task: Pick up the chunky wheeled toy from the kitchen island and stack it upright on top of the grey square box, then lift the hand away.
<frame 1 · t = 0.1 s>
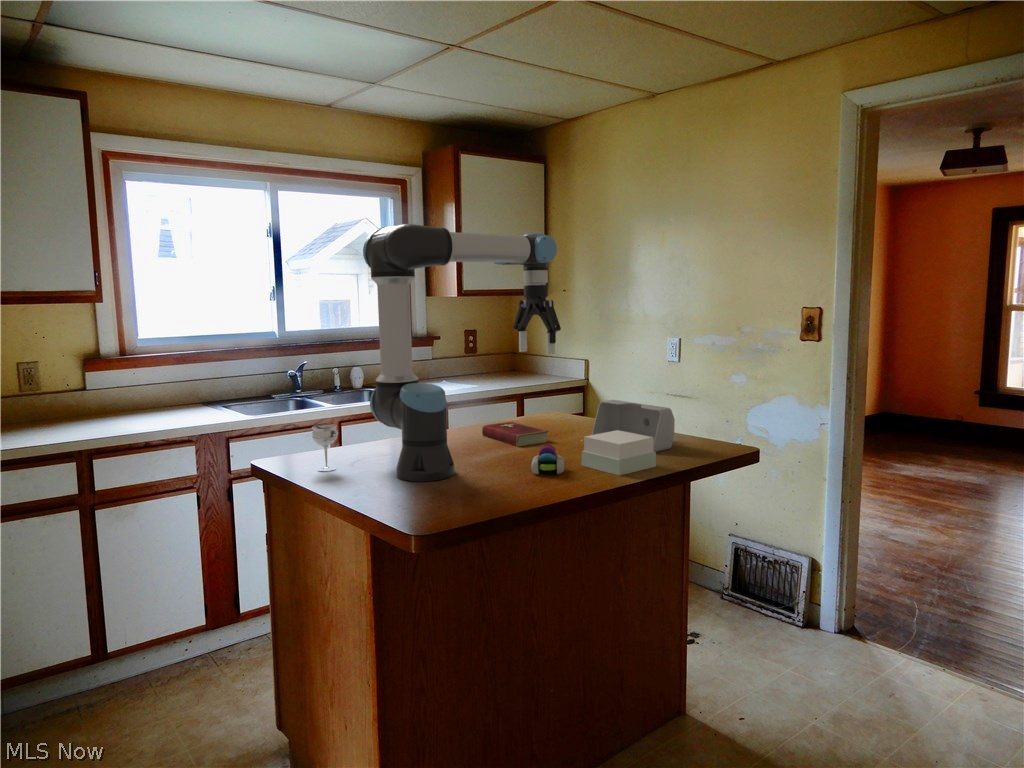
hand: (536, 352, 219), 28 cm above the table, fingers open, 13 cm apart
grey square box: (618, 466, 188), on the table
hardcover book: (514, 440, 225), on the table
wineglass: (326, 470, 189), on the table
chunky wheeled toy: (548, 472, 183), on the table
light grey storage bin: (636, 444, 215), on the table
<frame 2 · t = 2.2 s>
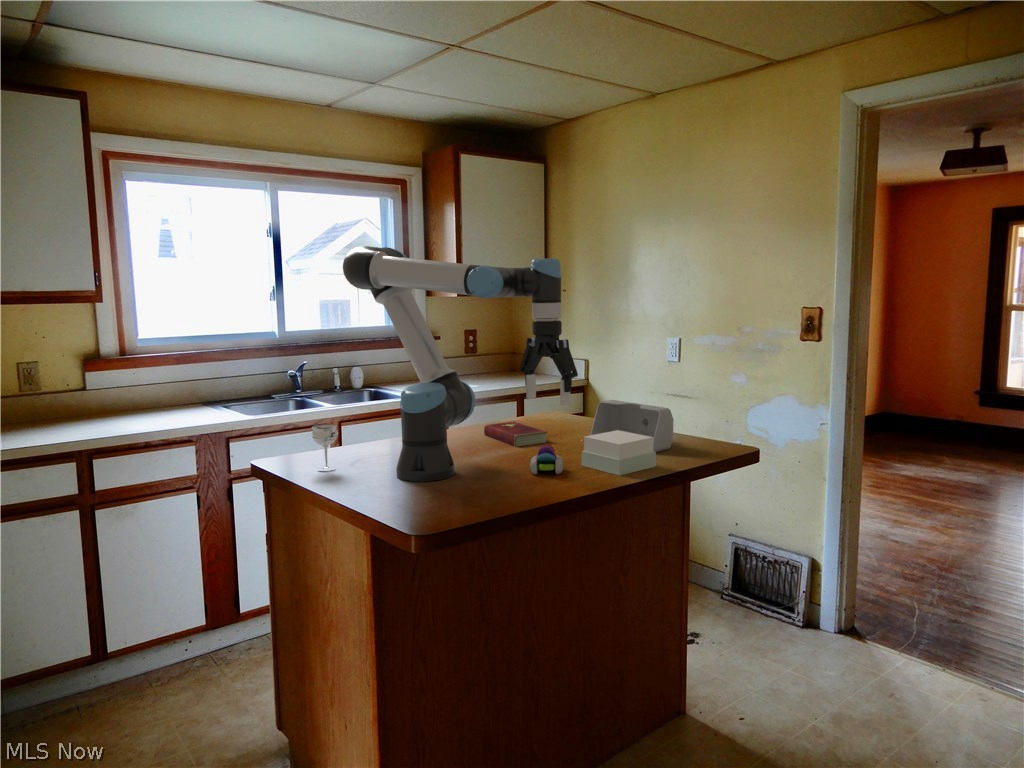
hand: (547, 401, 181), 19 cm above the table, fingers open, 13 cm apart
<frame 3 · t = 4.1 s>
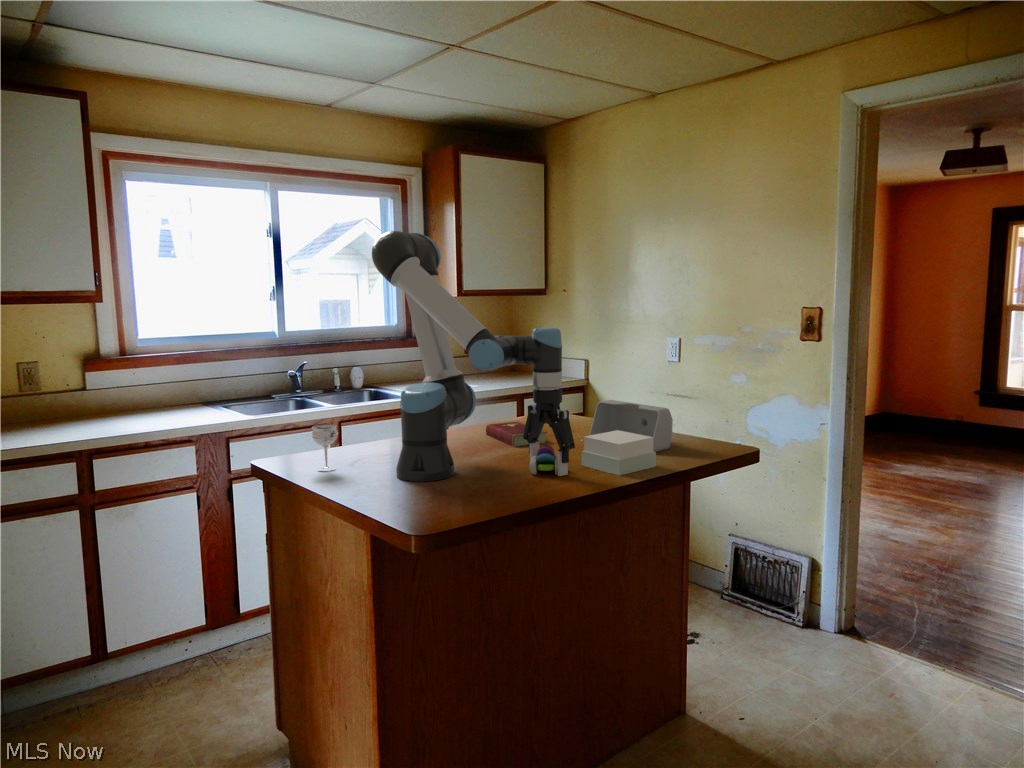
hand: (548, 470, 183), 0 cm above the table, fingers open, 11 cm apart
chunky wheeled toy: (546, 473, 183), on the table, touching gripper
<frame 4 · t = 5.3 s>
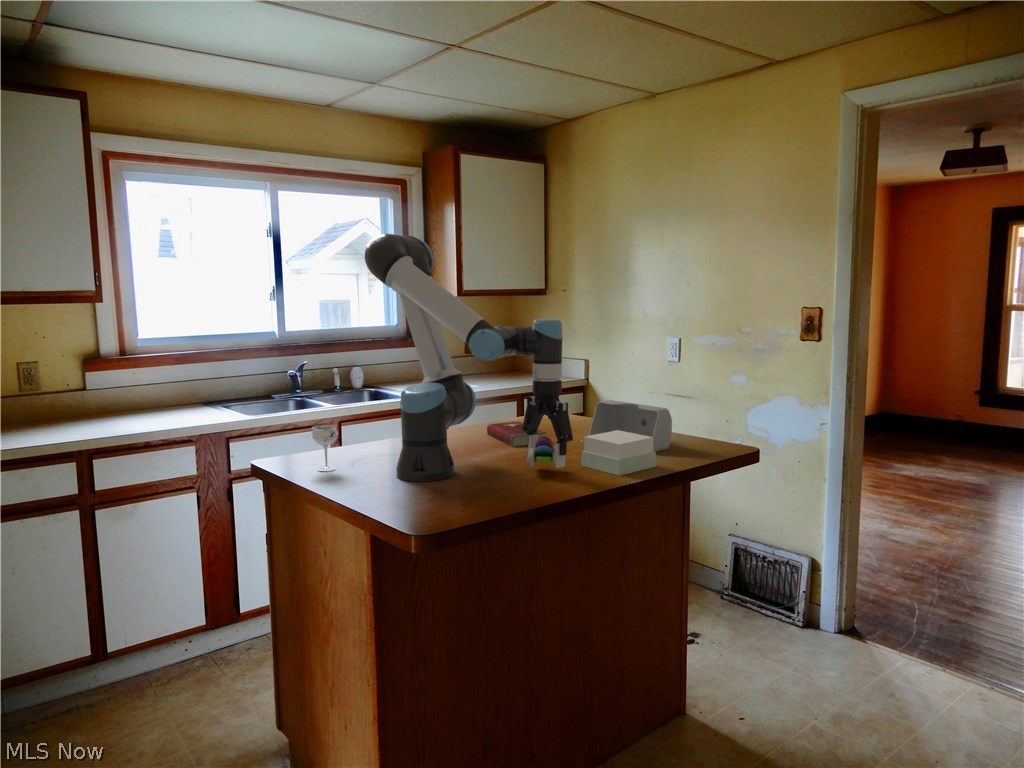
hand: (546, 462, 183), 2 cm above the table, fingers closed on chunky wheeled toy, 10 cm apart
chunky wheeled toy: (544, 465, 183), point 2 cm above the table, touching gripper
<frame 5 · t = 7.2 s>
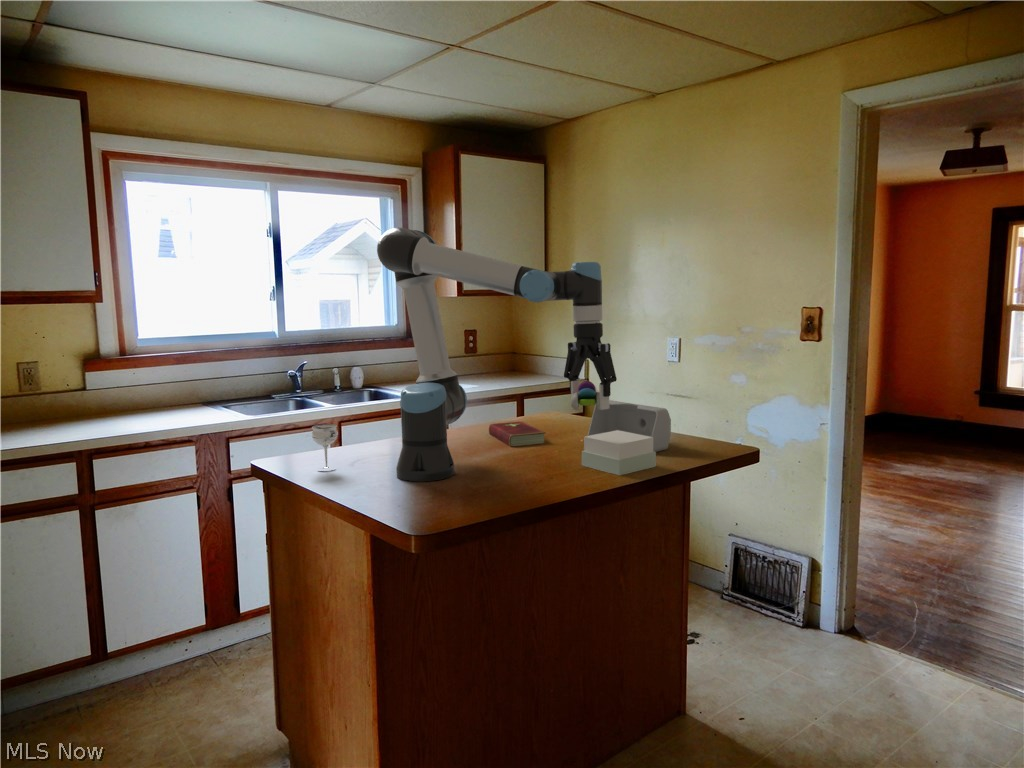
hand: (590, 406, 183), 17 cm above the table, fingers closed on chunky wheeled toy, 10 cm apart
chunky wheeled toy: (587, 409, 183), point 16 cm above the table, touching gripper
when the fingers open (10 cm above the table, at t = 9.5 s): chunky wheeled toy drops 1 cm, resting on grey square box.
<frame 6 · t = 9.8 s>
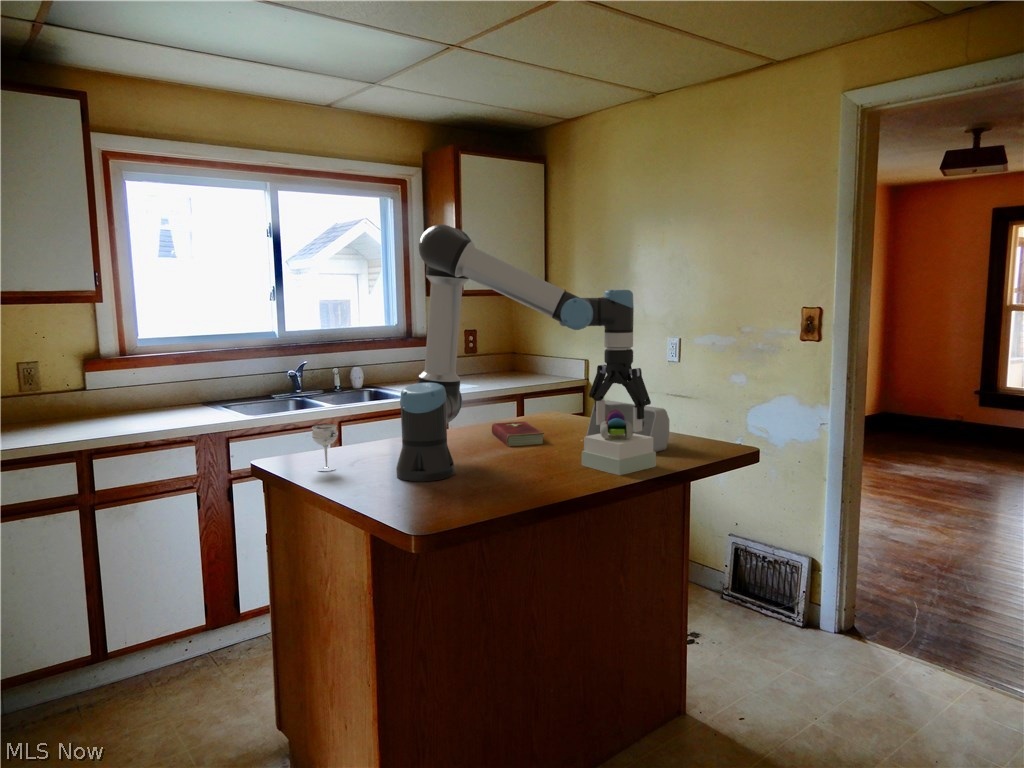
hand: (618, 427, 186), 10 cm above the table, fingers open, 13 cm apart
chunky wheeled toy: (616, 438, 186), point 8 cm above the table, touching grey square box
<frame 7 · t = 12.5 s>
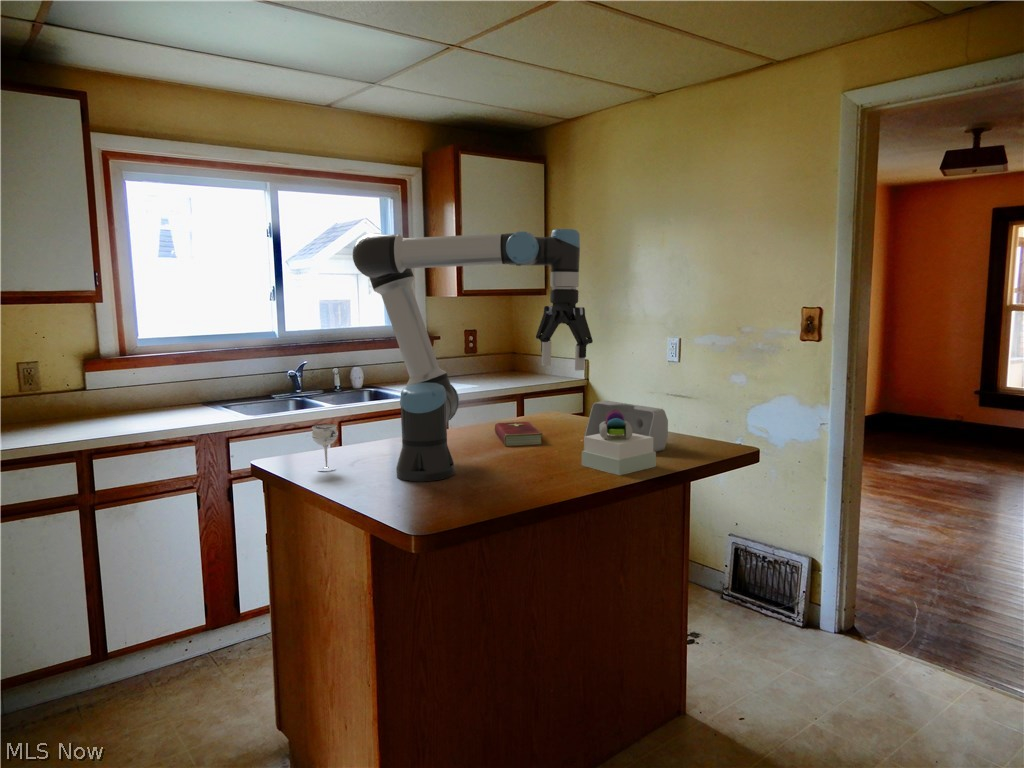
hand: (562, 367, 188), 26 cm above the table, fingers open, 13 cm apart
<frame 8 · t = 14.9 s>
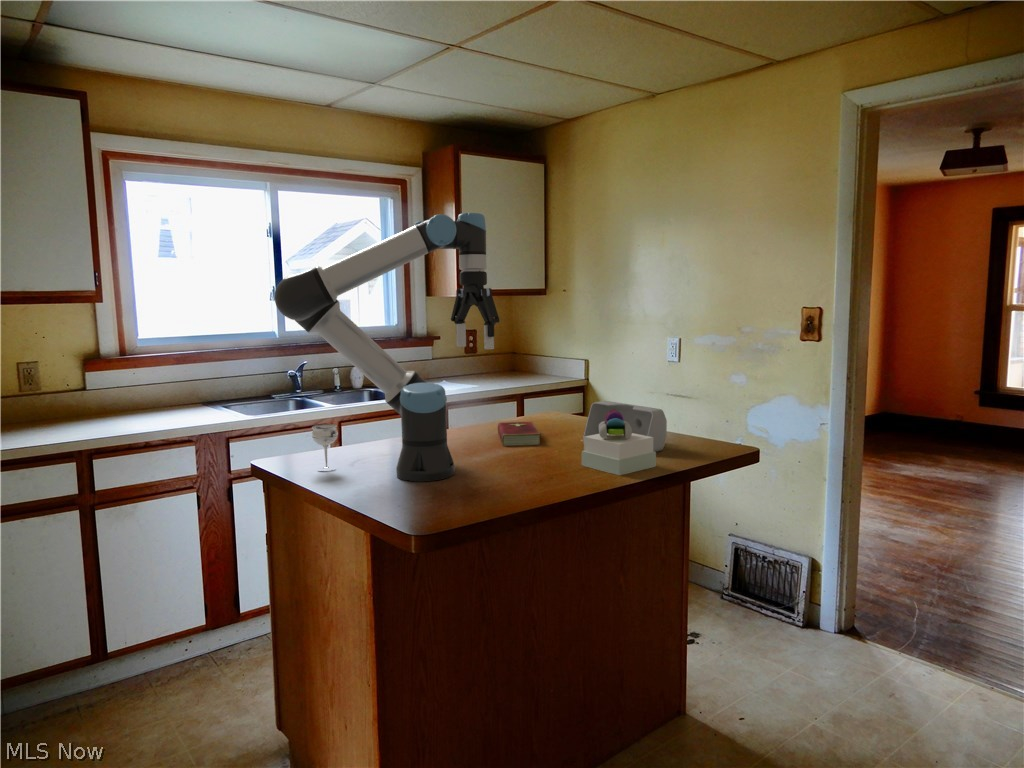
hand: (474, 348, 194), 32 cm above the table, fingers open, 13 cm apart
at the end: chunky wheeled toy inside the target area on the grey square box (1.2 cm from its centre), point 7.8 cm above the grey square box's base; chunky wheeled toy tilted 0°; the gripper is holding nothing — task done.
